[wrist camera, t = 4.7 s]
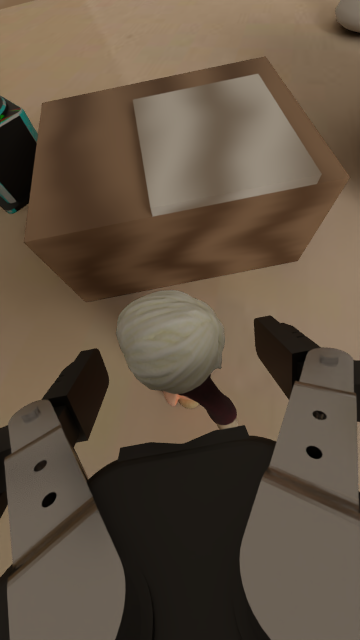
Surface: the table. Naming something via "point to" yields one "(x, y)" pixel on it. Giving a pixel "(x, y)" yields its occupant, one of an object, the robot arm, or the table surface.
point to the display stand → (177, 180)
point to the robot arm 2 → (15, 156)
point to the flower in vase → (349, 14)
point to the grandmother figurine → (176, 350)
